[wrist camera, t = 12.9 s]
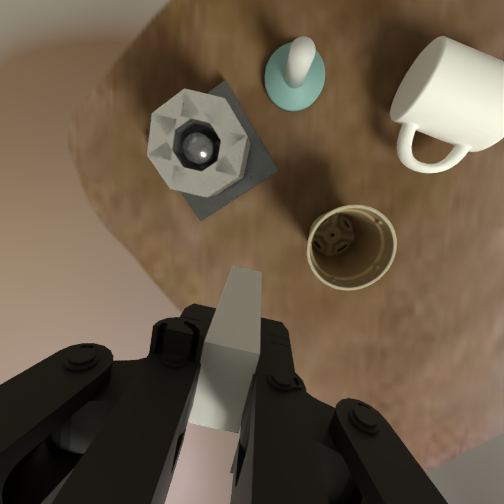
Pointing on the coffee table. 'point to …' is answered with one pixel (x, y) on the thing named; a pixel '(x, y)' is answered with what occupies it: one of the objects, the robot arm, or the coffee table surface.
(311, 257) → the flower pot
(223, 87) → the hub
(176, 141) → the collar
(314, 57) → the stand
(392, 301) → the coffee table surface
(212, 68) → the coffee table surface
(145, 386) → the robot arm
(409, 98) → the mug
